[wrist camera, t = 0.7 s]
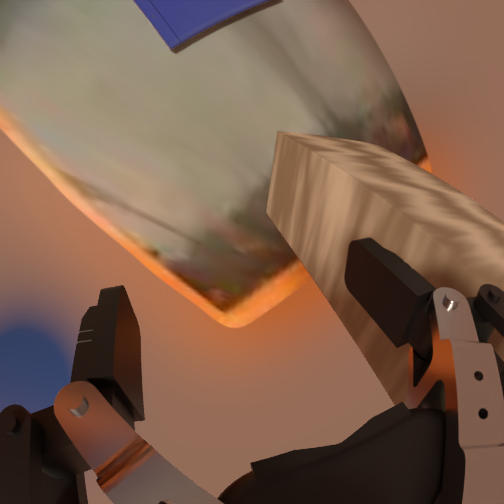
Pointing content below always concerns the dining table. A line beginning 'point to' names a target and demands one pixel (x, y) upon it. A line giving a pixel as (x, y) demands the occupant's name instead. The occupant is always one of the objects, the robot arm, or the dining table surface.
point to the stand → (379, 231)
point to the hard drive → (190, 16)
